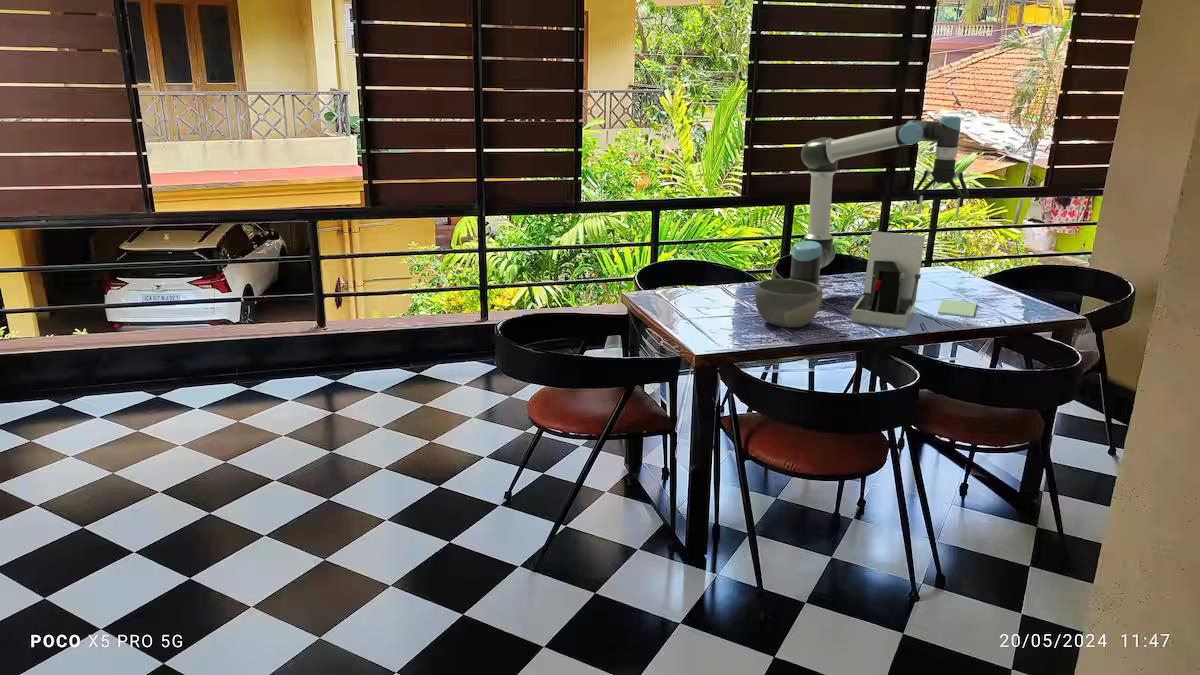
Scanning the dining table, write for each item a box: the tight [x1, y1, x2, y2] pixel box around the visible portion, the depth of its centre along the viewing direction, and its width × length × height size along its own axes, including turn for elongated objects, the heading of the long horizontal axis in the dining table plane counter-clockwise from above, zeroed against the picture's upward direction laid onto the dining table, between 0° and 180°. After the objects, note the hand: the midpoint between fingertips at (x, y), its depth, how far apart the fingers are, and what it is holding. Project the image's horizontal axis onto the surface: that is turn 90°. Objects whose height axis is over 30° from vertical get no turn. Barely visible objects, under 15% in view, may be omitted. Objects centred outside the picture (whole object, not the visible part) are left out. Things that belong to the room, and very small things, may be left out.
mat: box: [937, 298, 978, 318], centre depth 339 cm, size 13×21×1 cm, turn 154°
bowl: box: [754, 278, 823, 329], centre depth 315 cm, size 24×24×15 cm
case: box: [850, 230, 926, 330], centre depth 325 cm, size 20×31×30 cm, turn 154°
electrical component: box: [869, 261, 905, 314], centre depth 324 cm, size 18×10×20 cm, turn 168°
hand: (937, 214), depth 326 cm, fingers open, 13 cm apart
